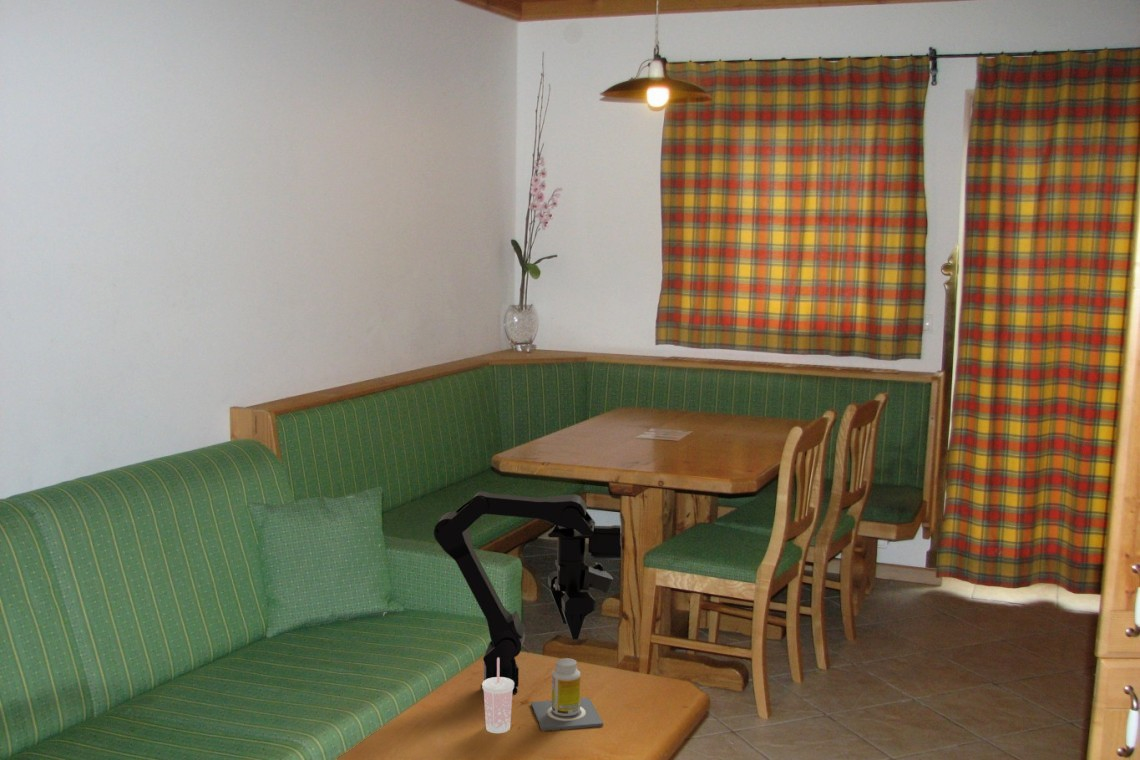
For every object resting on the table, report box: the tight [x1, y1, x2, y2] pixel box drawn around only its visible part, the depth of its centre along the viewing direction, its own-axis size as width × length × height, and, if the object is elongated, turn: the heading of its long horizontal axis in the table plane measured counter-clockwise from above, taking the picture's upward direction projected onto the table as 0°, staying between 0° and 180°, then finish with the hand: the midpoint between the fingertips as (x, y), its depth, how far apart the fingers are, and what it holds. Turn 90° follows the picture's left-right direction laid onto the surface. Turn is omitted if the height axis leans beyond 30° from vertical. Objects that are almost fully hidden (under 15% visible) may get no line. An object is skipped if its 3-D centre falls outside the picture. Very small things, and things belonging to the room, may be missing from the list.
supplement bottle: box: [551, 657, 581, 716], centre depth 216 cm, size 6×6×10 cm
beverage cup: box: [481, 658, 514, 734], centre depth 210 cm, size 6×6×14 cm
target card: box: [530, 697, 604, 732], centre depth 217 cm, size 12×12×1 cm
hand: (570, 631), depth 226 cm, fingers open, 9 cm apart
